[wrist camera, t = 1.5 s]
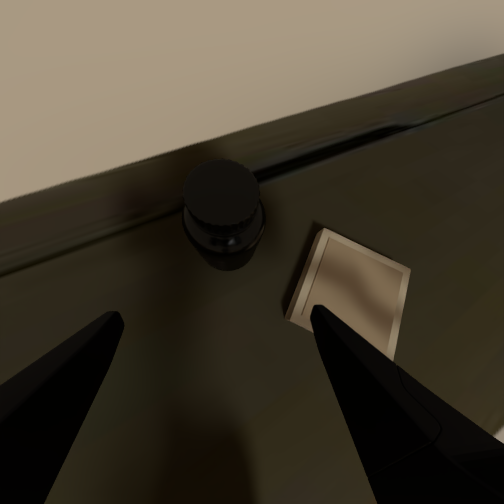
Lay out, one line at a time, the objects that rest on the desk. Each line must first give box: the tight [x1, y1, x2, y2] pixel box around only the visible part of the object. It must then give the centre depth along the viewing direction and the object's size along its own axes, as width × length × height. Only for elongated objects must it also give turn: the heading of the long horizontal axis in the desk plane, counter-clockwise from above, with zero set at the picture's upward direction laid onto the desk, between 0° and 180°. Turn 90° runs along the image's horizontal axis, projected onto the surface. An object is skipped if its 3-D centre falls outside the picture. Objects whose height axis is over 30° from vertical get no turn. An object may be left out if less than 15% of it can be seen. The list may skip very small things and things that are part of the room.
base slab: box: [285, 228, 411, 361], centre depth 22 cm, size 12×12×2 cm
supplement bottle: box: [182, 159, 266, 271], centre depth 17 cm, size 7×7×12 cm
